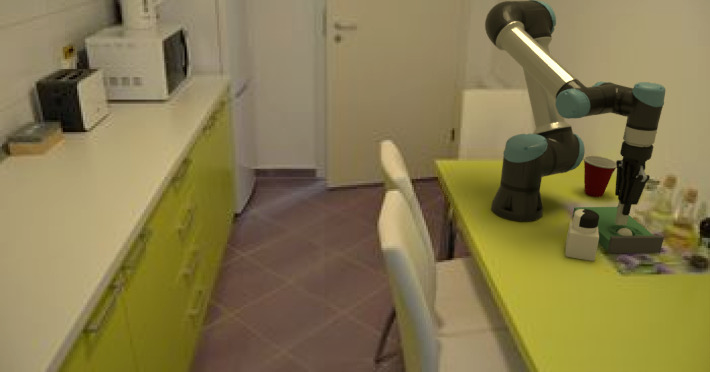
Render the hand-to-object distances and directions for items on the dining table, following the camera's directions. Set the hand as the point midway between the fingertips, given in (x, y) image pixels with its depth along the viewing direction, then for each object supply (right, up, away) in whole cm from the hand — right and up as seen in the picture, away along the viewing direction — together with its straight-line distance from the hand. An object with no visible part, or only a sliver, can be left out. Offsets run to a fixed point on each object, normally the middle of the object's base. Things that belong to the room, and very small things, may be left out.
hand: (620, 223), depth 160 cm
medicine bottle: (-14, -8, -8) cm, 18 cm away
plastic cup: (+6, +8, +31) cm, 32 cm away
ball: (0, -3, -2) cm, 4 cm away
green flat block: (0, -3, +4) cm, 5 cm away
